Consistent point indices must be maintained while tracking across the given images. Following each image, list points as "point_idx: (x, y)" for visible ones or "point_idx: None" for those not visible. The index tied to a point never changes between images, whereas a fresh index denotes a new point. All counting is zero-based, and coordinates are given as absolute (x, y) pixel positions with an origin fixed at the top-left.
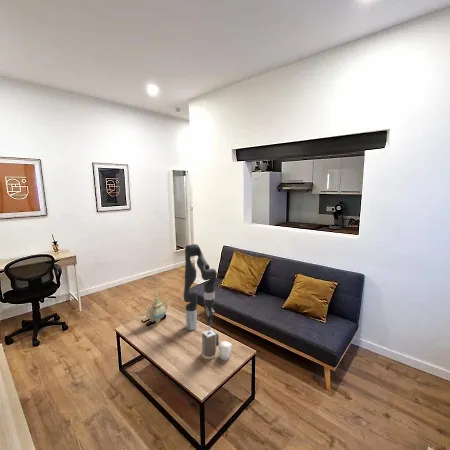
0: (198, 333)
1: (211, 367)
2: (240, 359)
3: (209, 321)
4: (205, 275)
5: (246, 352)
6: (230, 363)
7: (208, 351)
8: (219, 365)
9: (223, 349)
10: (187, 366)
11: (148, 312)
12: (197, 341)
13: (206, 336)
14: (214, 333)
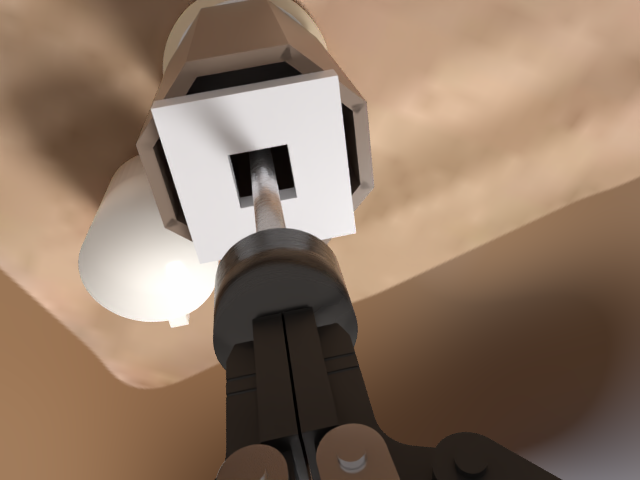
0: (617, 79)
1: (23, 20)
2: (85, 302)
3: (225, 331)
4: None
5: (160, 364)
6: (49, 215)
7: (173, 60)
8: (40, 112)
9: (90, 230)
10: None
11: None
12: (504, 22)
13: (187, 100)
14: (219, 246)
